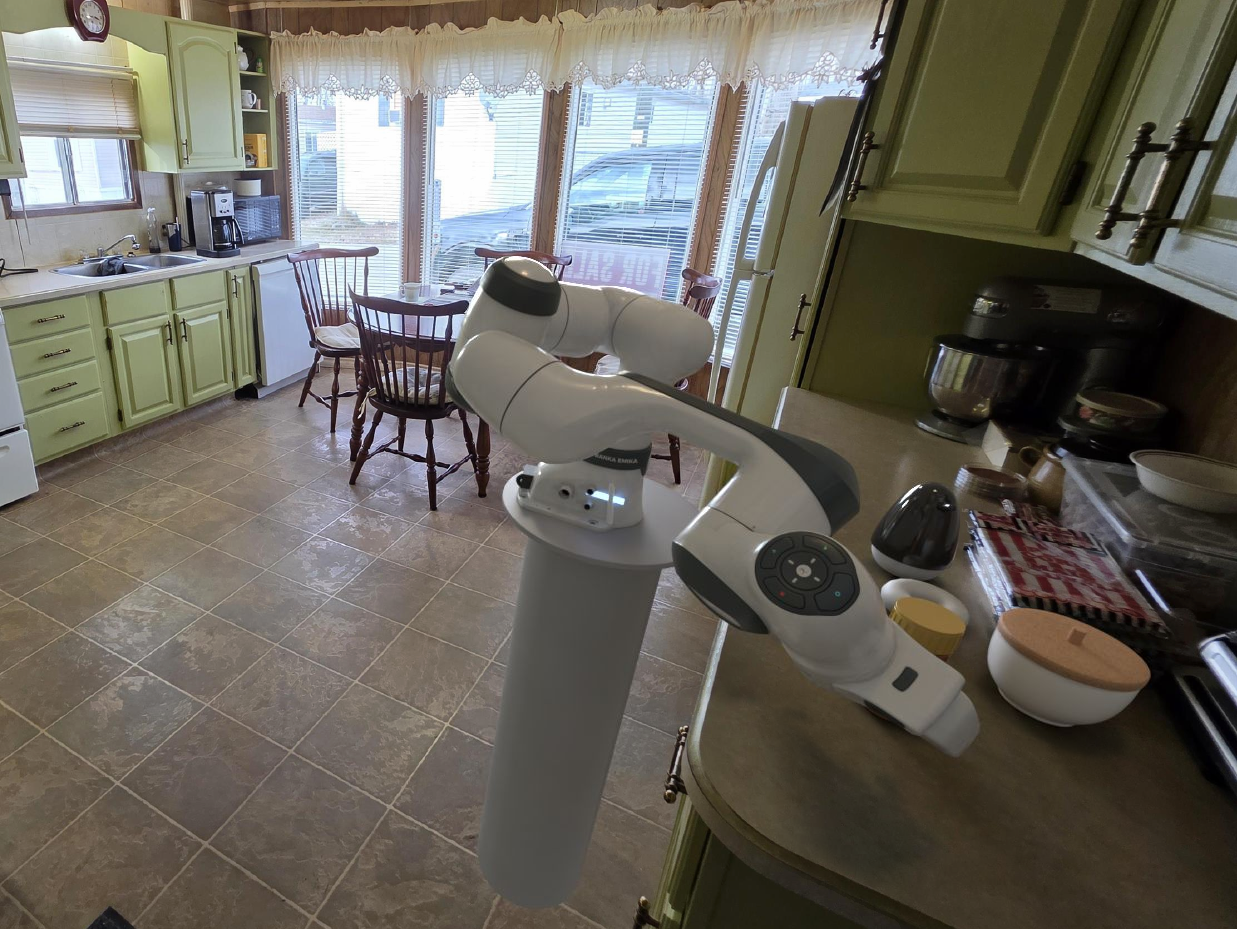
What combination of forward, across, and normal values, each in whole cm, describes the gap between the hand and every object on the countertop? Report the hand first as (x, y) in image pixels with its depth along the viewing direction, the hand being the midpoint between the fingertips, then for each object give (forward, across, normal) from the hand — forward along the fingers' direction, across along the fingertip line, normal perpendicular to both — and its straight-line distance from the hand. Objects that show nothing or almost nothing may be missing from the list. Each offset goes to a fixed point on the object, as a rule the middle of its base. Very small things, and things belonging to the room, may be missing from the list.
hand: (862, 687), depth 71 cm
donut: (+28, -8, +18) cm, 34 cm away
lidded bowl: (+24, +8, +14) cm, 29 cm away
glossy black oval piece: (+35, -15, +25) cm, 45 cm away
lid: (+4, 0, +9) cm, 10 cm away
